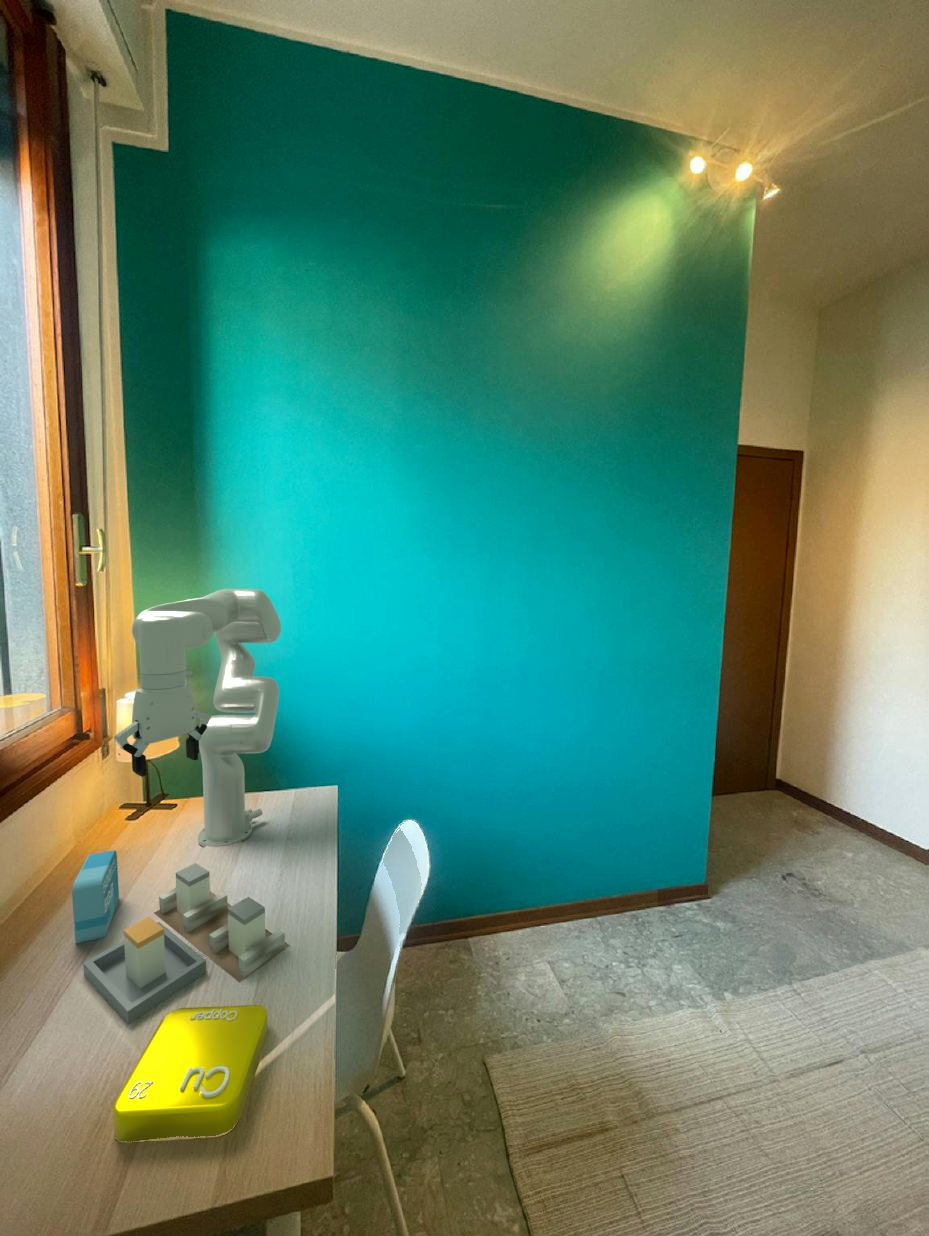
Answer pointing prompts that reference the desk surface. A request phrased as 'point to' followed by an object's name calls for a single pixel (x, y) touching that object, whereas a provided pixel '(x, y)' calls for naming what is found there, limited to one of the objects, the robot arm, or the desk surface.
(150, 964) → the block
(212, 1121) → the element tile
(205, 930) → the fuse board
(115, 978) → the tray
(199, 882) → the block
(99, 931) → the data package
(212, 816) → the robot arm
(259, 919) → the block
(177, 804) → the desk surface
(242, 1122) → the desk surface
